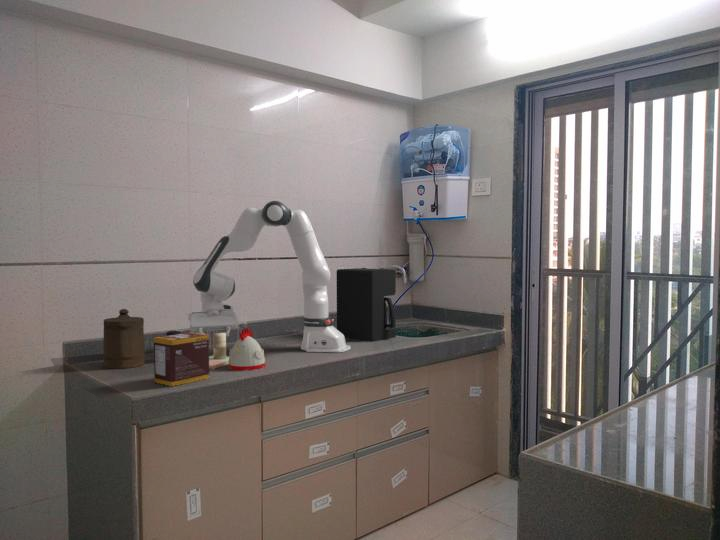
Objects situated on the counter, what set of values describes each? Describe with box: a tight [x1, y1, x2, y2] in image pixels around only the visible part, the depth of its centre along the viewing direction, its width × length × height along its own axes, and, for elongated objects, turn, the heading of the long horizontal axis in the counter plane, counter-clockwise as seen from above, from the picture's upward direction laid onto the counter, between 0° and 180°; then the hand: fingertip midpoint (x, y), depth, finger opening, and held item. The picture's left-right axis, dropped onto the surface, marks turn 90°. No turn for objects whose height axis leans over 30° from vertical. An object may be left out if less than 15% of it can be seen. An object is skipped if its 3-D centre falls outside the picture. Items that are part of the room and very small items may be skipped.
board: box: [209, 355, 230, 370], centre depth 224 cm, size 12×18×1 cm, turn 161°
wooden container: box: [103, 308, 146, 370], centre depth 222 cm, size 15×15×22 cm
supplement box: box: [153, 331, 210, 387], centre depth 195 cm, size 10×15×16 cm
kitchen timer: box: [227, 327, 266, 372], centre depth 218 cm, size 14×14×15 cm
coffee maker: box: [336, 267, 397, 343], centre depth 288 cm, size 28×20×35 cm
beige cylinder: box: [212, 332, 227, 359], centre depth 228 cm, size 5×5×10 cm
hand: (215, 337), depth 239 cm, fingers open, 8 cm apart
